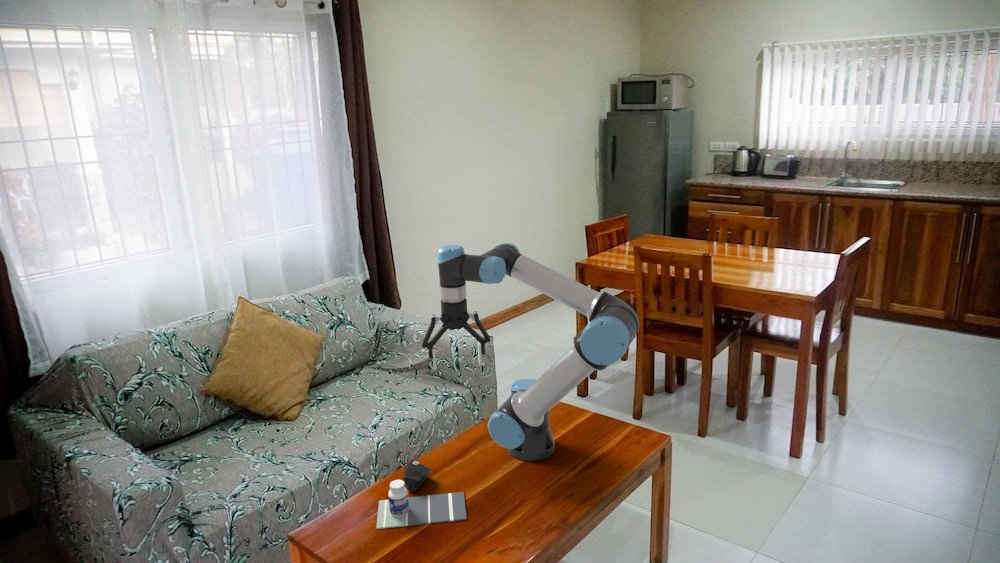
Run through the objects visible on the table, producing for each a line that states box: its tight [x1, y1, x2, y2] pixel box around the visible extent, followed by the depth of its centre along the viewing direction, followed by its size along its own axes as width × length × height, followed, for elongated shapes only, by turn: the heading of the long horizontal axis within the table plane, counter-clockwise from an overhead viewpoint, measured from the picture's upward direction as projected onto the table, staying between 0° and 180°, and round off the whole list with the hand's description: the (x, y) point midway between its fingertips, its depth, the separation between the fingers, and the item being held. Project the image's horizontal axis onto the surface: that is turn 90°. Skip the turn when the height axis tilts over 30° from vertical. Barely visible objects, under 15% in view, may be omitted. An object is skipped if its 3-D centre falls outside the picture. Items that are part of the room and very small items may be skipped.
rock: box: [403, 459, 432, 493], centre depth 189 cm, size 10×9×6 cm
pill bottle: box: [388, 479, 409, 517], centre depth 175 cm, size 5×5×9 cm
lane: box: [375, 491, 467, 530], centre depth 177 cm, size 24×12×1 cm, turn 97°
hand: (457, 365), depth 192 cm, fingers open, 13 cm apart
